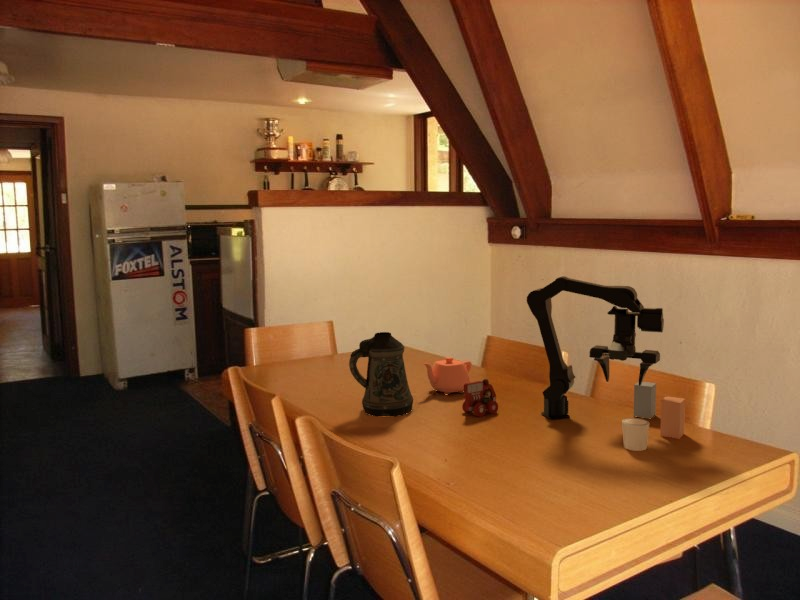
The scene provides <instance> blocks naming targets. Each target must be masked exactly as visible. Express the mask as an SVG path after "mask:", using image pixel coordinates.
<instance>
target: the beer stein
mask: <svg viewBox="0 0 800 600" xmlns="http://www.w3.org/2000/svg"><path fill="white" fill-rule="evenodd" d="M358 346H359V347H358V348H357V349H355V350H353V351H352V352H351V353H350V358H349V361H348V367H349V371H350V372H351V373H350V374H351V376H353V378H354V379H355V381H356V382H357V383H359V385H360V386H362V387H363V388H364V389H365V391H364V394H363V397H362V399H361V400H362V401H361V404H362V408H363V412H364V413H365V414H366V413H367V415H368V414H370V415H369V416H372V415H373V417H378V416H394V417H399V416H398V415H401V416H404V415H403V414H405V415H407V414H406V413H408V414H410V413H411V412H412V411H413V404H414V397H413V394H412V392H411V389H410V385H409V383H408V378H407V372H406V366H405V361H404V352H405V345H403V343H402V342H400V341H399V340H398V339H396V338H395V337H394V336H392V333H391V332H388V331H382V332H381V331H380V332H375V333H374V336H372V337H370V338H368V339H364V340H363V339H362V340H361V341H360V342H359V345H358ZM361 358H367V359H368V360H367V361H368V362H367V368H366V369H367V370H366V378H365V377H364V376H363V375H362V373H360V371H359V368H358V366H357V363H358V360H359V359H361ZM411 410H412V411H411ZM410 411H411V412H410ZM409 412H410V413H409Z"/></svg>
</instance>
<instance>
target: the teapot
mask: <svg viewBox="0 0 800 600" xmlns="http://www.w3.org/2000/svg"><path fill="white" fill-rule="evenodd" d="M422 365H424V366H425V367H426V373H427V379H428V380H429V384H430V385H431V387H432V388H433V389H434V391H435V390H437V391H440V392H443V395H444V394H450V393H458V392H463V391H464V384H465V383H470V381H471V380H470V376H469V373H470V370H471V368H472V362H471V361H470V360H465V361H460V360H456V359H454V357H452V356H447V357H445V359H443V360H436V361H435V362H434V364H433V365H432V366H431V364H430V363H428V362H422ZM450 395H451V394H450Z"/></svg>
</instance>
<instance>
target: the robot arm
mask: <svg viewBox="0 0 800 600" xmlns="http://www.w3.org/2000/svg"><path fill="white" fill-rule="evenodd" d="M564 291H565V292H569V293H572V294H576V295H577V294H578V295H581V296H587V297H590V298H591V297H592V298H596V299H601V300H602V301H603V300H604V301H605V302H606V303H609V304H611V305H613V306H612V307H611V309H610V310H609V311H607V315H610V316H614V332H613V338H612V340H611V343H610V345H609V346H608V345H598V344H597V345H594V346H593V347H591V348H590V349H589V358H593V361H596V362H597V363H598V364H599V365H600V367H601V369H602V370H601V371H602V372H603V375H604V378H605V381H606V382H609V381H610V360H612V361H613V360H619V361H627V359H628V358H629V359H637V360H641V362H640V363H639V368H640V369H639V373H638V374H639V375H638V382H639V386H640V385H641V384H642V382H644V379H645V376H646V374H647V371H648V369H649V368H650V367H652V366H653V365H655V364H657V363H658V362H660V360H661V353H660V351H658V350H652V349H645V350H643V351H641V352H640V351H636V349H637V348H636V336H637V333H636V326H637V328H638V329H639V330H641V331H640V332H647V333H649V332H650V333H663V332H664V327H665V325H664V323H665V319H664V310H663V308H662V307H655V308H649V307H647V308H646V307H645V306H644V305H643V304H642V302H641V301H640V300H639V299H638V292H637V291H636V289H635V288H634V287H632V286H629V285H604V284H599V283H593V282H589V281H586V280H585V281H583V280H579V279H575V278H571V277H567V276H565V275H564V276H559V277H557V278H555V280H553V281H552V282H551V283H549V284H548V285H546V286H544V287H542V288H536V289H535V290H532V291H530V292H529V293H528V294H527V296H526V304H527V306H528V309H529V310H530V312H531V314H532V315H533V317H534V318H535V320H536V321H537V324H538V328H539V332H540V336H541V338H542V339H541V340H542V343H543V346H544V349H545V354H546V357H547V360H548V365H549V372H548V376H549V386H548V387H546V389H543V391H542V395H543V411H541V415H542V416H544V417H546V418H548V419H549V420H558V419H568V418H570V415H569V400H568V396H567V395H566V394H567V392H569V390H571V388H572V387H573V385H574V384H575V379H576V375H575V374H574V371H573V365H572V364H570V365H567V363H566V362H565V360H564V357H563V354H562V350H561V346H560V343H559V339H558V335H557V331H556V329H555V324H554V322H553V318H552V307H553V305H552V298H554V297H555V296H557V295H559V294H560V293H562V292H564ZM618 307H619V308H618ZM636 319H637V320H636Z"/></svg>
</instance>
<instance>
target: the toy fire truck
mask: <svg viewBox="0 0 800 600" xmlns="http://www.w3.org/2000/svg"><path fill="white" fill-rule="evenodd" d="M461 407H462V408H461V409H462V411H463V412H464V413H466V414H470V412H471V413H473V414H474V415H475V417H480V418H482V417H483V416H484V415H485V414H486V412H487V413H488V414H493V413H494V414H495V413H497V412H498V410H499V403H498V402H497V394H496V391H495V389H494V387H493V385H492V384H490V381H489V380H488V379H487V378H484V379H482V380H476V381H473V382H472V381H471V382H470V383H465V384H464V402H462V406H461ZM494 414H493V415H494Z"/></svg>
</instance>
